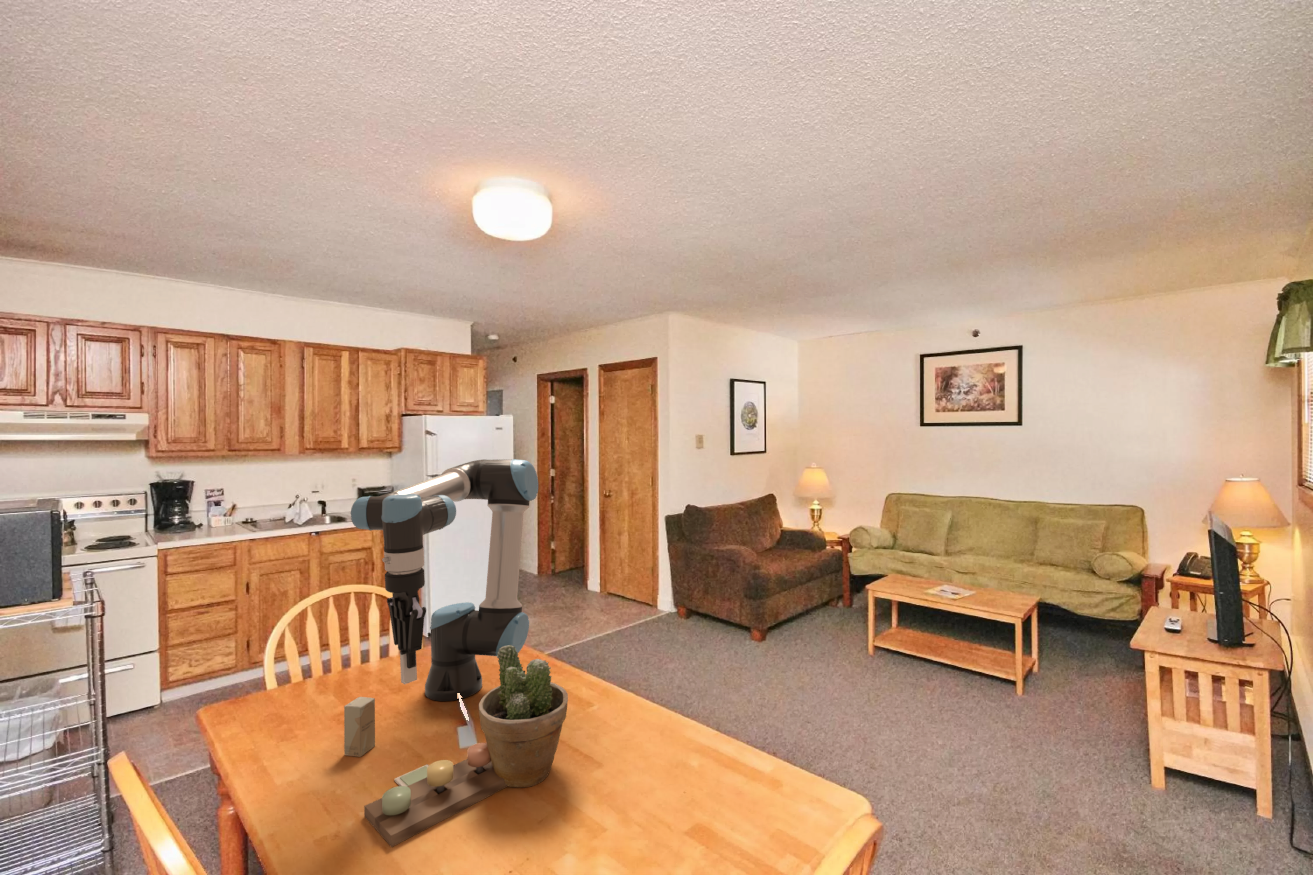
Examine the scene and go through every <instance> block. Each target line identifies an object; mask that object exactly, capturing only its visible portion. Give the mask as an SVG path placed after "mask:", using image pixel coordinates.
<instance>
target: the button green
mask: <svg viewBox="0 0 1313 875" xmlns="http://www.w3.org/2000/svg"><path fill="white" fill-rule="evenodd" d="M381 798H382V812H383V813H384V814H385V815H393V816H394V815H397V814H400V813H402V812H404V811H406V810H407V809H408V808H409V807H410V805H411V790H410V788H409V787H406V786H399V785H398V786H394V787H392V788H388V790H386V791H385V792H384V793H383V794H382V796H381Z"/></svg>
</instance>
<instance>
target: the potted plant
mask: <svg viewBox="0 0 1313 875" xmlns="http://www.w3.org/2000/svg"><path fill="white" fill-rule="evenodd" d="M498 651H499V652H498V655H497V656H496V658H497V662H498V664H499V669H498V671H499V674H498V676H499V682H500V684H499V685H497V686H496V687H495V688H492V689H490V690H489V691H488V692H486V693H485V694H484V695H483V696H482V698H481V699H480V701H479V703H478V715H479V716H478V717H479V721H480V722H479V724H480V725H479V726H480V729H481V731H482V732H483V733H484V737H485V743H487V747H488V750H489V754H490V758H491V762H492V765H493V768H494V771H495V773H496V774H497V775H498V776H499V777H501V778H504V781H505V784H506V785H507V787H510V788H531V787H533V786H536V785H537V784H539V783H542V782H543V781H544V780H546V778H547V777H548V776H549V773H550V771H551V770H552V766H553V762H554V759H555V755H556V753H557V749H558V745H559V741H560V736H561V733H562V729H563V724H564V722H565V721H566V719H567V711H568V701H569V693H568V691H567V690H566V689H565V688H564V687H562V686H561V685H559V684H557V683H555V682H552V675H550V674H551V673H552V671H550V670H551V666H549V662H547V661H546V660H543V659H541V658H540V659H539V658H536V659H532V660H530V661H529V663H528V664H527V665H526V668H525V669H526V670H524V669H523V668H524V667H523V666H522V665H523V664H522V663H521V660H520V657H519V653H518V652H516V648H515V647H514V646H512V645H508V646H503V647H501V648H500V649H499V650H498Z"/></svg>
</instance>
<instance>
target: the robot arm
mask: <svg viewBox="0 0 1313 875" xmlns="http://www.w3.org/2000/svg"><path fill="white" fill-rule="evenodd" d="M538 492H539V479H538V474H537V471H536V469H535V467H534V465H533V464H532V463H531V462H530V461H528V460H526V459H525V460H524V459H515V458H511V459H504V458H503V459H478V460H477V459H476V460H472V461H468V462H465V463H462V464H459V465H456V466H453V467H450V468H447V469H445V470H444V471H443V472H442V473H441V474H440V475H437V476H435V477H432V478H430V479H426V480H424V481H421V482H418V483H415V484H411V485H409V486H406V487H403V488H401V489H397V490H395V491H391V492H389V493H385V494H382V495H380V496H379V495H378V496H373V495H369V496H362V497H361V496H360V497H359V498H357V499H356V500H354V503H353V504H352V506H351V510H350V520H351V522H352V524H353V526H354V527H356V528H357V529H360V530H368V531H371V532H372V531H382V534H383V536H382V537H383V556H384V557H383V558H382V559H381V560H382V562H383V563H384V570H385V571H386V572H385V574H384V587H385V591H387V592H388V593H391V594H392V597H388V598H386V603H387V606H388V610H389V616H390V623H391V629H392V630H391V631H392V637H393V643H394V645H395V646H397V649H398V651H399V657H400V658H399V660H400V661H399V662H400V666H399V667H400V683H402V684H403V685H407V684H410V683H412V682H416V681H418V670H417V669H418V668H417V667H418V666H417V664H418V663H417V652H418V651H419V650H422V648H423V639H424V638H423V636H424V635H423V634H424V625H425V618H426V613H427V608H426V607H425V606H423V607H421V605H420V597H419V590H420V589H422V588H423V587H424V586H425V569H424V568H423V567H424V566H425V556H424V555H425V550H424V549H425V548H424V535H427V534H430V533H432V532H436V531H438V530H442V529H444V528H446V527H448V526H449V525H451V524H452V523H453V522H454V520H455V518H456V516H457V507H456V504H455V502H456V503H457V502H462V501H464V500H485V501H486V500H487V507H488V508H489V509H490V510H491V512H492V513H491V523H490V524H491V528H490V538H489V539H490V540H489V552H488V563H487V572H486V573H487V576H486V587H485V588H486V589H485V598H484V600H483V601H481V603H480V604H478V610H476V606H475V604H474V603H473V602H469V601H468V602H466V601H465V602H459V603H458V602H457V603H452V604H449V605H446V606H443V607H440V608H438V609H436V610H435V611H433V613H432V614H431V617H430V627H429V630H430V656H431V660H430V661H431V664H430V668H429V670H428V671H429V672H428V675H427V677H426V681H425V685H424V695H425V697H427V699H429V700H432V701H437V702H449V701H450V702H452V701H458V700H457V693H460V695H461V696H462V697H463V698H462V699H465V698H469V697H470V696H473V695H475V694H476V693H478V692H479V691H481V690H482V688H483V676H482V673H481V671H480V670H481V669H480V668H479V664H478V662H477V660H476V656H487V657H488V656H489V657H497V655H498V652H499V651H498V650H499V649H500V648H501V647H503V646H508V645H512V646H514V647H515V648H516V652H518V654H519V653H520V651H522V649H523V647H524V645H525V644H526V641H527V638H528V635H529V634H528V633H529V631H530V630H529V629H530V620H529V615H528V614H527V613H525V612H523V604H522V603H521V602H520V600H518V591H519V579H520V578H519V577H520V567H521V566H520V565H521V564H520V563H521V554H522V553H521V549H522V548H521V547H522V536H523V521H524V513H525V512H526V511H527V510H528V509H529V508H530V501H531V502H532V501H535V500H536V498H537V496H538Z"/></svg>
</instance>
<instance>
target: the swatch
mask: <svg viewBox="0 0 1313 875" xmlns="http://www.w3.org/2000/svg"><path fill="white" fill-rule="evenodd" d="M429 765H430V764H427V763H426V764H425V765H423V766H420V767H417V768H416V769H414V770H410V771H409V772H406V773H404V774H402V775H400V776H397V777H395V778H394V782H395V783H396V784H397V785H398V786H406V787H407V786H409V785H411V784H413V783H415V782H418V781H420V780H422V779H424V778H426V777H427V768H428V766H429Z"/></svg>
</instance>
